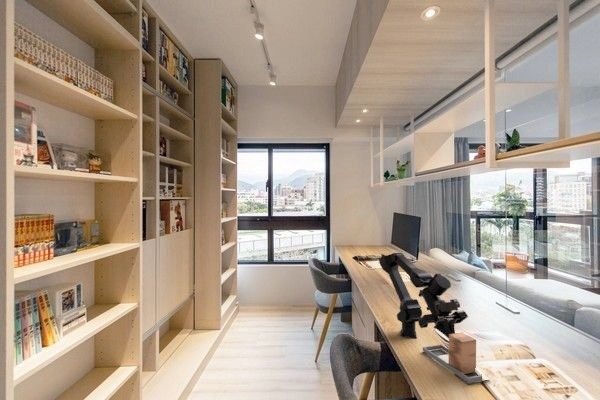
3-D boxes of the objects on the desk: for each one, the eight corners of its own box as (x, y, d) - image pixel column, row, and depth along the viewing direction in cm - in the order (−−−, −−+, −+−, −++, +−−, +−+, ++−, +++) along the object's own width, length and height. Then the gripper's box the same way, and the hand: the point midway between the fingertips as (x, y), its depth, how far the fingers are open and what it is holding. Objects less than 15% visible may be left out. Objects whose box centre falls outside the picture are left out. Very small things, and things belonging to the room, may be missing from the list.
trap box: (422, 352, 119) (422, 347, 119) (441, 349, 122) (441, 344, 122) (468, 384, 98) (468, 378, 98) (489, 380, 100) (490, 374, 100)
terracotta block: (448, 365, 108) (448, 334, 108) (462, 362, 110) (462, 332, 110) (461, 374, 102) (462, 341, 102) (475, 371, 104) (476, 339, 104)
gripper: (423, 293, 112) (445, 336, 101) (464, 289, 117) (489, 329, 106) (410, 307, 119) (429, 348, 109) (448, 303, 125) (470, 342, 114)
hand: (455, 342), depth 109 cm, fingers closed, pressing on terracotta block
